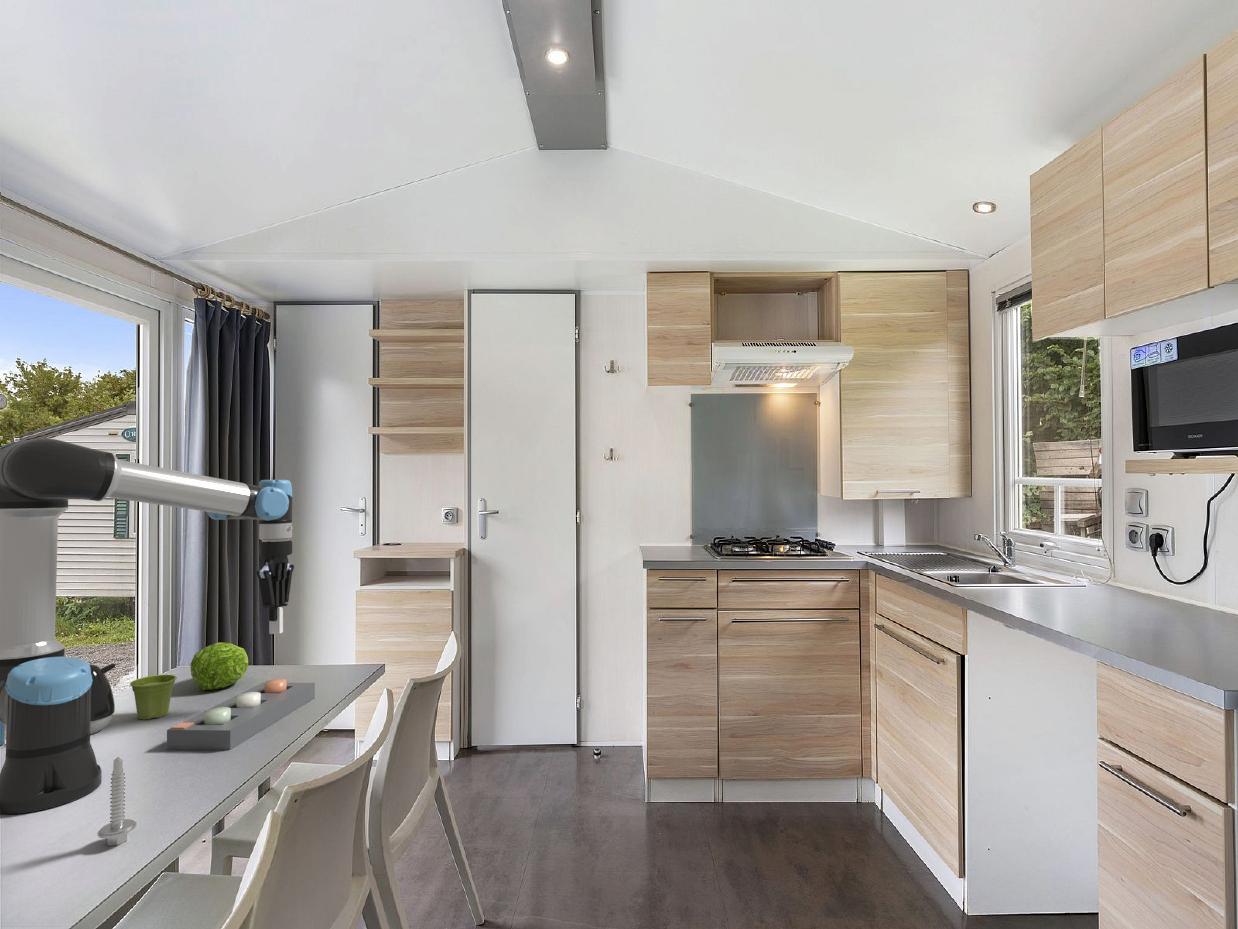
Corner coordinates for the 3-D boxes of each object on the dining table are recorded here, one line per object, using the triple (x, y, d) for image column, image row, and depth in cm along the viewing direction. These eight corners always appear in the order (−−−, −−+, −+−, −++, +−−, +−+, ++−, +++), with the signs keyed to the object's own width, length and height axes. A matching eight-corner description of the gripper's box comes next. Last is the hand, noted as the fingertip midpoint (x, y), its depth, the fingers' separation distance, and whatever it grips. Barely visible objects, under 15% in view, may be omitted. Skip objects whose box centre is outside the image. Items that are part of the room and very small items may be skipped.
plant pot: (185, 709, 166) (186, 674, 166) (155, 723, 156) (156, 686, 157) (151, 709, 167) (151, 674, 167) (119, 722, 157) (119, 685, 157)
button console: (230, 749, 139) (230, 729, 139) (166, 749, 140) (166, 728, 140) (314, 698, 173) (314, 681, 173) (263, 698, 174) (263, 681, 174)
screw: (109, 835, 105) (142, 832, 106) (89, 851, 100) (125, 848, 101) (110, 752, 106) (143, 750, 106) (91, 764, 101) (126, 762, 101)
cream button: (252, 714, 154) (252, 698, 154) (231, 714, 154) (231, 698, 155) (265, 707, 159) (265, 692, 159) (245, 707, 159) (245, 692, 160)
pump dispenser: (123, 729, 152) (124, 662, 153) (66, 744, 144) (67, 673, 144) (105, 721, 158) (106, 656, 159) (50, 735, 149) (51, 666, 150)
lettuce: (265, 650, 202) (223, 629, 199) (251, 659, 181) (203, 635, 179) (238, 690, 198) (195, 668, 196) (220, 704, 178) (171, 680, 175)
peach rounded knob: (279, 699, 165) (279, 684, 165) (260, 699, 165) (260, 684, 166) (290, 693, 170) (290, 678, 170) (271, 693, 170) (271, 678, 171)
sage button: (220, 732, 143) (221, 715, 143) (198, 732, 144) (198, 714, 144) (235, 724, 148) (235, 707, 148) (214, 723, 148) (214, 707, 149)
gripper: (275, 542, 162) (275, 639, 162) (303, 537, 175) (304, 627, 175) (245, 542, 163) (245, 639, 162) (276, 538, 176) (276, 627, 175)
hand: (276, 633), depth 168 cm, fingers closed
